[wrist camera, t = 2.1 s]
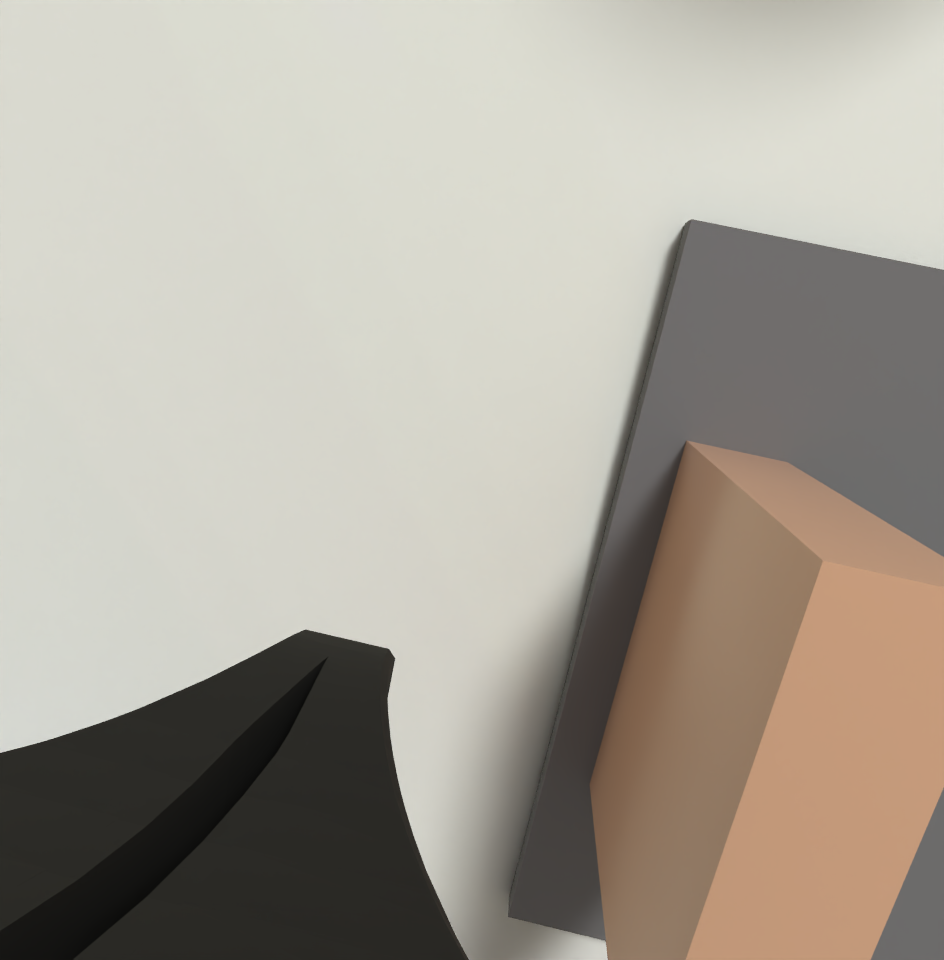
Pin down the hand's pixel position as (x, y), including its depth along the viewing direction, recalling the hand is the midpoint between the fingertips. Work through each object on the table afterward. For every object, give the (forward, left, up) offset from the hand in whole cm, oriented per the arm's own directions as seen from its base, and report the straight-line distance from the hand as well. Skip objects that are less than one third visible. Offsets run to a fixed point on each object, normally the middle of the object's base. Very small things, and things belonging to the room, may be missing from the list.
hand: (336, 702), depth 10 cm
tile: (0, -6, -5) cm, 8 cm away
